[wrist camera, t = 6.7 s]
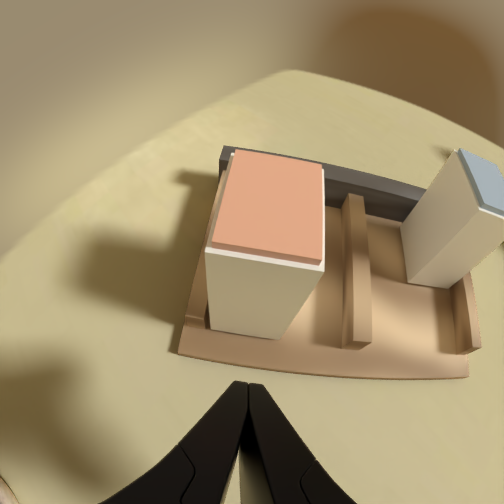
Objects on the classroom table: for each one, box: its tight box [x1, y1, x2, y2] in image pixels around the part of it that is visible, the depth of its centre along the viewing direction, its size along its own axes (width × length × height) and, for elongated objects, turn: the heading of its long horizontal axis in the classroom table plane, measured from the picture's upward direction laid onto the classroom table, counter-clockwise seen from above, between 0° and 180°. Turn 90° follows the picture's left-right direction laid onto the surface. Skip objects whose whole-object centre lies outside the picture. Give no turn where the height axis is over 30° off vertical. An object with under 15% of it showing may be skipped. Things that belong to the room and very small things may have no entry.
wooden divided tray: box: [178, 146, 481, 380], centre depth 20 cm, size 14×20×4 cm
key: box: [205, 149, 325, 340], centre depth 15 cm, size 5×4×9 cm
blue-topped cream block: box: [400, 148, 504, 289], centre depth 18 cm, size 5×4×9 cm
